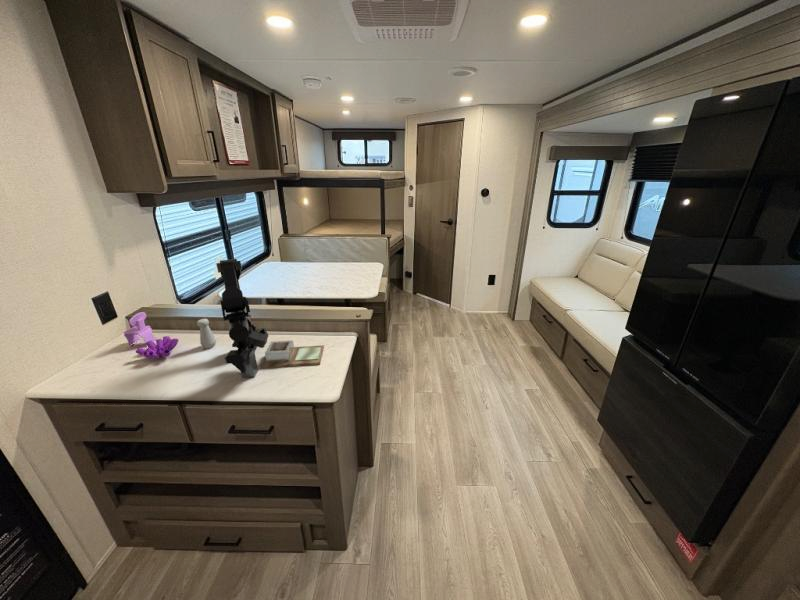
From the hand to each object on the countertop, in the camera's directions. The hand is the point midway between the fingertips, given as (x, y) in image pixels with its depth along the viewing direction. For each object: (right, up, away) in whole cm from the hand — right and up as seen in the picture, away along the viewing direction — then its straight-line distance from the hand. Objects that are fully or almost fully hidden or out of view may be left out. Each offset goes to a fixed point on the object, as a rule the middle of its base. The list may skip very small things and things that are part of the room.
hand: (248, 365), depth 115 cm
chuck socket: (+8, +1, +12) cm, 14 cm away
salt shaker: (-27, +4, +20) cm, 34 cm away
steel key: (0, -4, +2) cm, 4 cm away
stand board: (+13, +1, +12) cm, 18 cm away
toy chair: (-59, +5, +23) cm, 63 cm away
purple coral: (-44, +1, +14) cm, 46 cm away
